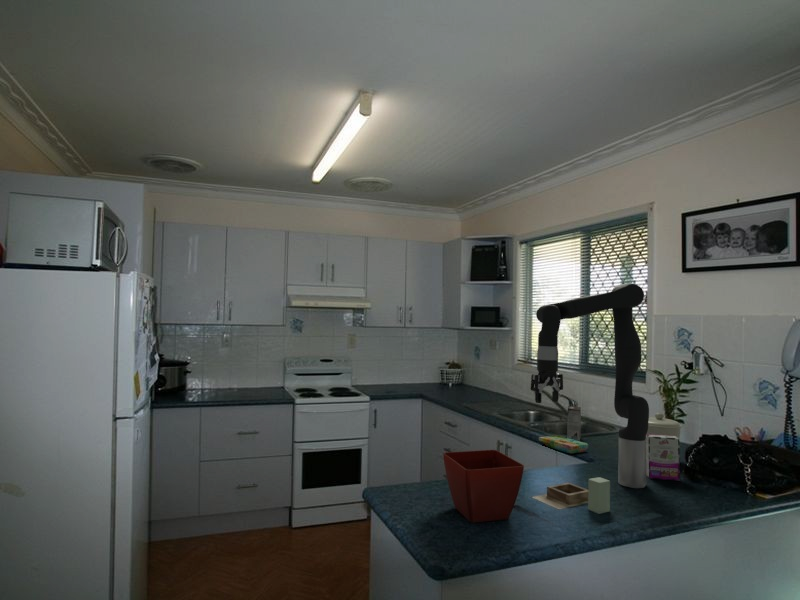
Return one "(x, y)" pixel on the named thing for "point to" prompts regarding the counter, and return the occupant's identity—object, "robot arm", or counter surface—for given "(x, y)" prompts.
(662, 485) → the counter surface
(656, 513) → the counter surface
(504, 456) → the plant pot
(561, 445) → the puzzle game
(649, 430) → the canister
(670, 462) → the candy bar box
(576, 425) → the coffee box
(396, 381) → the counter surface
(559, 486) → the puzzle board
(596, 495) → the sage block
